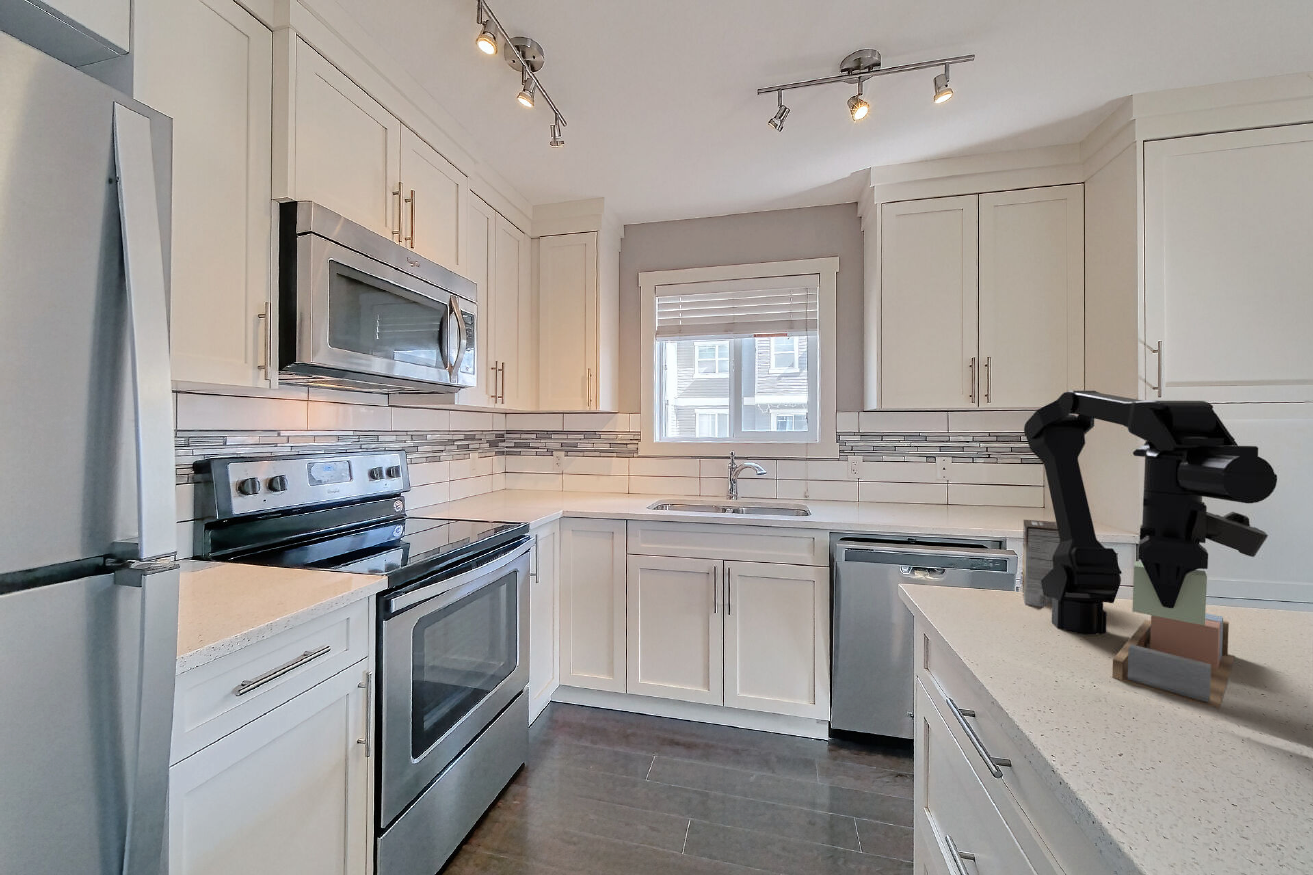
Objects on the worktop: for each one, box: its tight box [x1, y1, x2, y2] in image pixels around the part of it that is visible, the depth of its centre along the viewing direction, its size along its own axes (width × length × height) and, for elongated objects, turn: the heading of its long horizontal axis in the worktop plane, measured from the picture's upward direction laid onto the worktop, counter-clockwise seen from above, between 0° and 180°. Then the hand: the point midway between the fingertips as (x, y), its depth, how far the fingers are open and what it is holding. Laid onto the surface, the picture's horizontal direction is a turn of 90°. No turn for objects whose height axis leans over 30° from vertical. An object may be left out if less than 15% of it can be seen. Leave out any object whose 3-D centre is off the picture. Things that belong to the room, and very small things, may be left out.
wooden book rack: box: [1112, 619, 1235, 709], centre depth 75 cm, size 24×10×6 cm, turn 129°
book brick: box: [1150, 615, 1221, 670], centre depth 77 cm, size 4×7×6 cm, turn 39°
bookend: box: [1128, 644, 1211, 703], centre depth 68 cm, size 2×8×4 cm, turn 39°
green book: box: [1132, 560, 1208, 625], centre depth 71 cm, size 4×7×6 cm, turn 46°
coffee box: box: [1021, 519, 1060, 608], centre depth 105 cm, size 9×6×16 cm
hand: (1167, 603), depth 71 cm, fingers closed on green book, 3 cm apart
